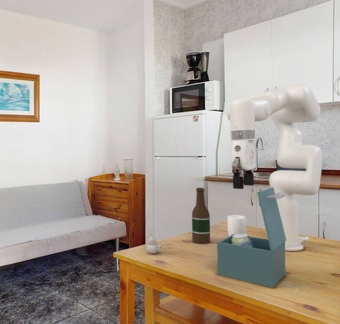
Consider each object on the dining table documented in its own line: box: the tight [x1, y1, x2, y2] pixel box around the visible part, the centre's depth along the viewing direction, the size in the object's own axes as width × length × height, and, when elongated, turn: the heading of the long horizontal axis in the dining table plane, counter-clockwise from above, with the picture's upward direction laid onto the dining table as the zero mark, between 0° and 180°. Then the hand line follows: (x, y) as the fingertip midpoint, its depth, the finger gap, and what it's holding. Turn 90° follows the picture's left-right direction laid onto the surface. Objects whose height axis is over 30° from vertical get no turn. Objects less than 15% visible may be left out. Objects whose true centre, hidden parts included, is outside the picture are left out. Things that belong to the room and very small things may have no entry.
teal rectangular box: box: [216, 234, 286, 289], centre depth 110 cm, size 17×14×11 cm
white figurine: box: [145, 233, 163, 255], centre depth 136 cm, size 5×7×8 cm
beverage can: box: [231, 233, 253, 248], centre depth 112 cm, size 6×7×12 cm
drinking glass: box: [226, 214, 247, 237], centre depth 130 cm, size 7×7×15 cm
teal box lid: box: [256, 187, 286, 250], centre depth 104 cm, size 17×14×5 cm
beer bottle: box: [191, 187, 211, 245], centre depth 150 cm, size 8×8×24 cm
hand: (243, 186), depth 114 cm, fingers open, 9 cm apart
